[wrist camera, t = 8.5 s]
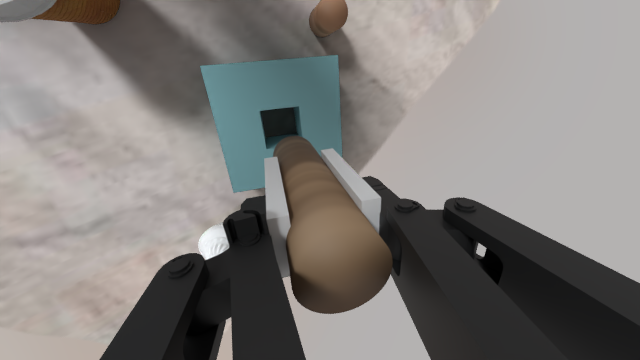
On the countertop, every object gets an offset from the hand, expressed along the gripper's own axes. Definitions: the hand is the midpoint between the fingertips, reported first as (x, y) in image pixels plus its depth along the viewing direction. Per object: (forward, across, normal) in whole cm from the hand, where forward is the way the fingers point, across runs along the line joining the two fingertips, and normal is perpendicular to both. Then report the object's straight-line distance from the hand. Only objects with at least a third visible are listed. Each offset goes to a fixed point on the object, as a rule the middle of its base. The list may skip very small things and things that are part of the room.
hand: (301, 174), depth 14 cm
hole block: (+20, 0, 0) cm, 20 cm away
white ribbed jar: (+20, -11, -16) cm, 28 cm away
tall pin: (+4, 0, 0) cm, 4 cm away
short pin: (+20, +7, +11) cm, 24 cm away
